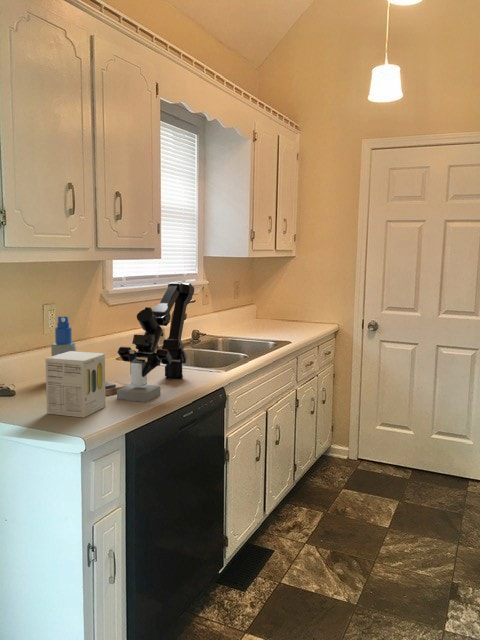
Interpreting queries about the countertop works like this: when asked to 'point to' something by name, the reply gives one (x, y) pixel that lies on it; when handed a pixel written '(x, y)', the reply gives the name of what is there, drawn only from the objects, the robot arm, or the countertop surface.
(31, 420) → the countertop surface
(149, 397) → the block
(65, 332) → the spray bottle
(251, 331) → the countertop surface
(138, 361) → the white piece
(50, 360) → the supplement box
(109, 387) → the tan wooden board
